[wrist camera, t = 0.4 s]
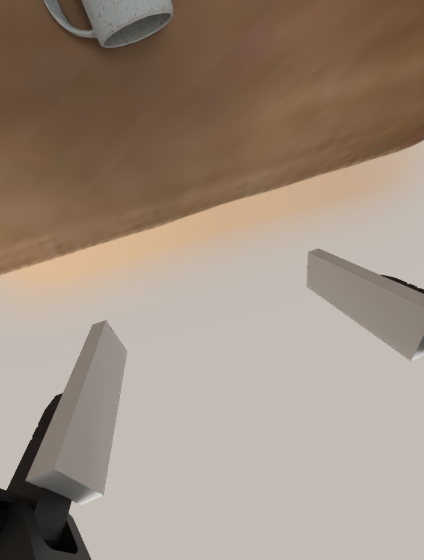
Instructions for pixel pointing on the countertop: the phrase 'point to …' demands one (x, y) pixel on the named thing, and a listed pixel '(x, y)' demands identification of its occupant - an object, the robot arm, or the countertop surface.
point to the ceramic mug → (118, 19)
